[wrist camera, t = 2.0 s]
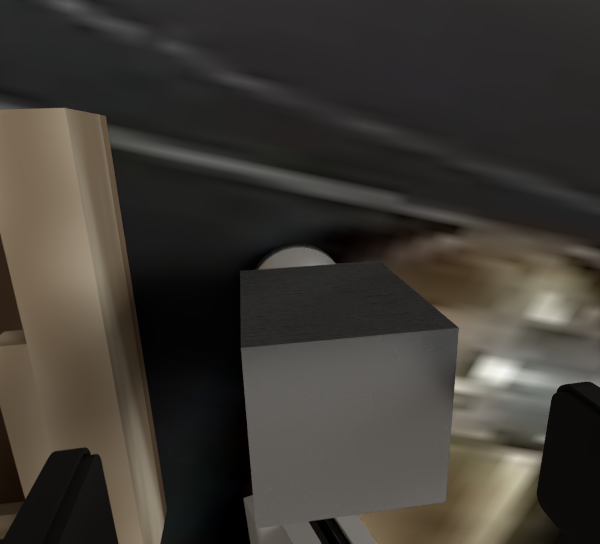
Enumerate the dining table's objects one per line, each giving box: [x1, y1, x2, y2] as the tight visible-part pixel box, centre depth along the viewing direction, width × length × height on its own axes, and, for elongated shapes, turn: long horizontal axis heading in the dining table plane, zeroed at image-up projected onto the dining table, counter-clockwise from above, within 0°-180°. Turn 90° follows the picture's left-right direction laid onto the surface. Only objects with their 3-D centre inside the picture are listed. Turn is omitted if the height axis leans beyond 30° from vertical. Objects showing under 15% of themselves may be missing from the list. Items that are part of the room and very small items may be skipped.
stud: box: [240, 243, 459, 529], centre depth 16 cm, size 5×5×11 cm
